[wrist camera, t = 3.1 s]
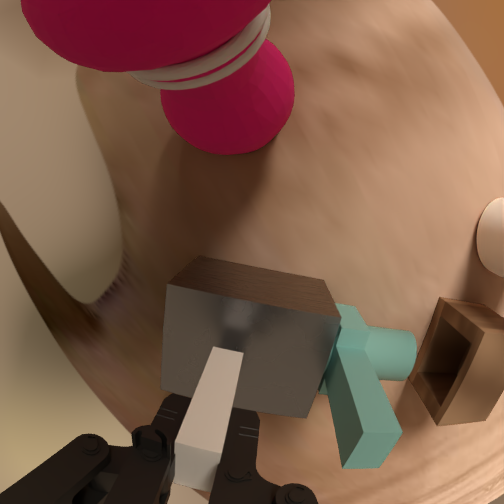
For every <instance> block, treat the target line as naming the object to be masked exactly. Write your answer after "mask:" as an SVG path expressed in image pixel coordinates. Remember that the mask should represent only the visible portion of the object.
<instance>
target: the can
mask: <svg viewBox="0 0 504 504" xmlns="http://www.w3.org/2000/svg"><path fill="white" fill-rule="evenodd" d="M476 242H477V250H478V255H479V258H480V260H481V262H482V264H483V265H484V267H485V268H486V269H488V270H489V271H491V272H492V273H494V274H496V275H498V276H500V277H502V278H504V198H497V199H495V200H493V201H492V202H491V203H490V204H489V205H488V206H487V207H486V208H485V210H484V212H483V214H482V216H481V218H480V220H479V224H478V228H477V236H476Z"/></svg>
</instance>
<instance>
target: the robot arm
mask: <svg viewBox="0 0 504 504" xmlns="http://www.w3.org/2000/svg"><path fill="white" fill-rule="evenodd" d="M242 358H243V353H241V352H236V351H232V350H227V349H222V348H218V347H213V349H212V351H211V353H210V356H209V358H208V361H207V363H206V366H205V368H204V371H203V373H202V376H201V378H200V381H199V383H198V386H197V388H196V391H195V393H194V396H193V398H189V397H185V396H181V395H178V394H174V393H172V394H171V395H169V396H168V397H166V398H165V399H164V401H163V402H162V404H161V406H160V409H159V410H158V412H157V415H156V416H155V418H154V420H153V421H152V423H151V425H146V426H140V427H138V428H136V429H135V430H134V431H133V432H132V433H131V434H132V443H133V446H129V447H120V446H112V445H108V443H107V442H106V441H105V440H104V439H103V438H102V437H100V436H98V435H95V434H82V435H80V436H78V437H76V438H75V439H74V440H72V441H71V442H70V443H69V444H67V445H66V446H65V447H63V448H62V449H61V450H59V451H58V452H57V453H56V454H54V455H53V456H51V457H50V458H49V459H47V460H46V461H45V462H43V463H42V464H41V465H39V466H38V467H37V468H35V469H34V470H32V471H31V472H30V473H28V474H27V475H26V476H24V477H23V478H21V479H20V480H19V481H17V482H16V483H15V484H13V485H12V486H10V487H9V488H8V489H6V490H5V491H3V492H2V493H1V494H0V504H167V502H168V499H169V496H170V487H171V484H172V482H173V479H174V483H175V484H179V485H182V486H186V487H190V488H194V489H198V490H203V491H207V492H211V495H210V499H209V504H318V502H317V499H316V497H315V495H314V493H313V492H312V490H311V489H309V488H308V487H306V486H304V485H301V484H294V483H291V484H287V485H284V486H282V487H281V486H278V485H276V484H273V483H270V482H268V481H266V480H265V479H263V478H262V477H261V476H260V475H259V473H258V472H257V469H256V456H257V446H258V436H259V425H260V419H259V417H258V415H257V413H256V411H252V410H246V409H241V408H236V407H232V406H233V401H234V396H235V392H236V387H237V382H238V377H239V372H240V368H241V363H242Z"/></svg>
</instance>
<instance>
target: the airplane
mask: <svg viewBox="0 0 504 504" xmlns="http://www.w3.org/2000/svg"><path fill="white" fill-rule="evenodd" d="M335 305H336V307H337V309H338V311H339V313H340V315H341V317H342V318H341V321H340V325H339V328H338V331H337V334H336V338H335V341H334V344H333V347H332V350H331V353H330V356H329V359H328V362H327V365H326V368H325V370H324V373H323V376H322V379H321V382H320V384H319V387H318V391H319V394H325V395H328V398H329V403H330V408H331V412H332V417H333V422H334V427H335V433H336V438H337V443H338V448H339V454H340V459H341V465H342V469H364V468H379V467H380V466H381V464H382V463H383V462H384V460H385V459H386V457H387V456H388V454H389V453H390V451H391V450H392V448H393V447H394V445H395V444H396V442H397V441H398V439H399V438H400V436H401V434H402V433H403V432H402V429H401V427H400V425H399V423H398V420H397V418H396V416H395V414H394V411H393V409H392V407H391V405H390V403H389V400H388V398H387V396H386V394H385V392H384V390H383V387H382V385H381V383H380V381H379V380H390V381H403V380H405V379H406V378H407V377H408V376H409V375H410V373H411V371H412V369H413V367H414V364H415V360H416V353H417V345H416V340H415V337H414V335H413V333H412V332H410V331H405V330H397V329H389V328H382V327H375V326H368V325H366V323H365V322H364V320H363V318H362V317H361V315H360V314H359V312H358V310H357V309H356V307H355V306H349V305H343V304H338V303H335ZM163 327H164V325H163Z"/></svg>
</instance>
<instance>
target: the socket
mask: <svg viewBox="0 0 504 504" xmlns="http://www.w3.org/2000/svg"><path fill="white" fill-rule="evenodd" d="M408 378H409V380H410V381H411V383H412V384H413V386H414V388H415V389H416V391H417V393H418V394H419V396H420V398H421V399H422V401H423V403H424V404H425V406H426V408H427V410H428V411H429V413H430V415H431V416H432V418H433V420H434V422H435V423H436V425H437V426H445V425H455V424H464V423H472V422H479V421H486V419H487V417H488V416H489V414H490V413H491V411H492V409H493V408H494V406H495V404H496V403H497V401H498V399H499V397H500V396H501V394H502V392H503V390H504V318H503V317H501V316H500V315H499V314H497V313H496V312H494V311H493V310H491V309H490V308H488V307H487V306H485V305H482V304H476V303H471V302H465V301H459V300H453V299H448V298H442V297H439V300H438V303H437V306H436V309H435V312H434V315H433V318H432V321H431V323H430V326H429V329H428V331H427V334H426V337H425V339H424V342H423V344H422V347H421V349H420V351H419V354H418V356H417V358H416V361H415V364H414V367H413V369H412V371H411V373H410V375H409V376H408Z"/></svg>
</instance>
